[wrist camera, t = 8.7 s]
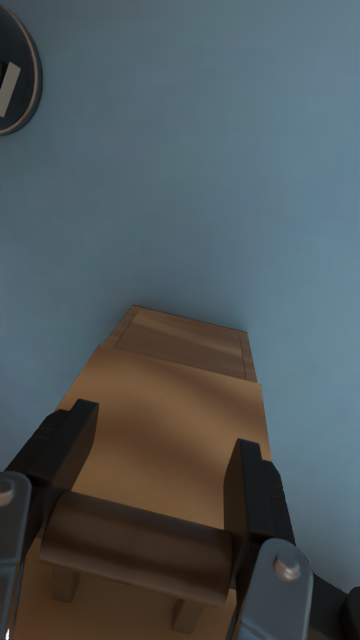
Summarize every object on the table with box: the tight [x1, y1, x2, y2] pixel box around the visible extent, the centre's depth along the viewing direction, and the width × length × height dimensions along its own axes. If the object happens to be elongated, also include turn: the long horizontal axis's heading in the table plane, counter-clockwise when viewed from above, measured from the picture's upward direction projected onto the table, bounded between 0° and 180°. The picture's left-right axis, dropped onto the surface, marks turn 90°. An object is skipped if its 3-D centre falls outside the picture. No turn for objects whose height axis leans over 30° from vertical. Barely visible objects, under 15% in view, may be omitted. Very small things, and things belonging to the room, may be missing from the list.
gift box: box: [102, 305, 258, 383], centre depth 32 cm, size 16×12×10 cm
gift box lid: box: [14, 345, 272, 640], centre depth 16 cm, size 17×12×5 cm
